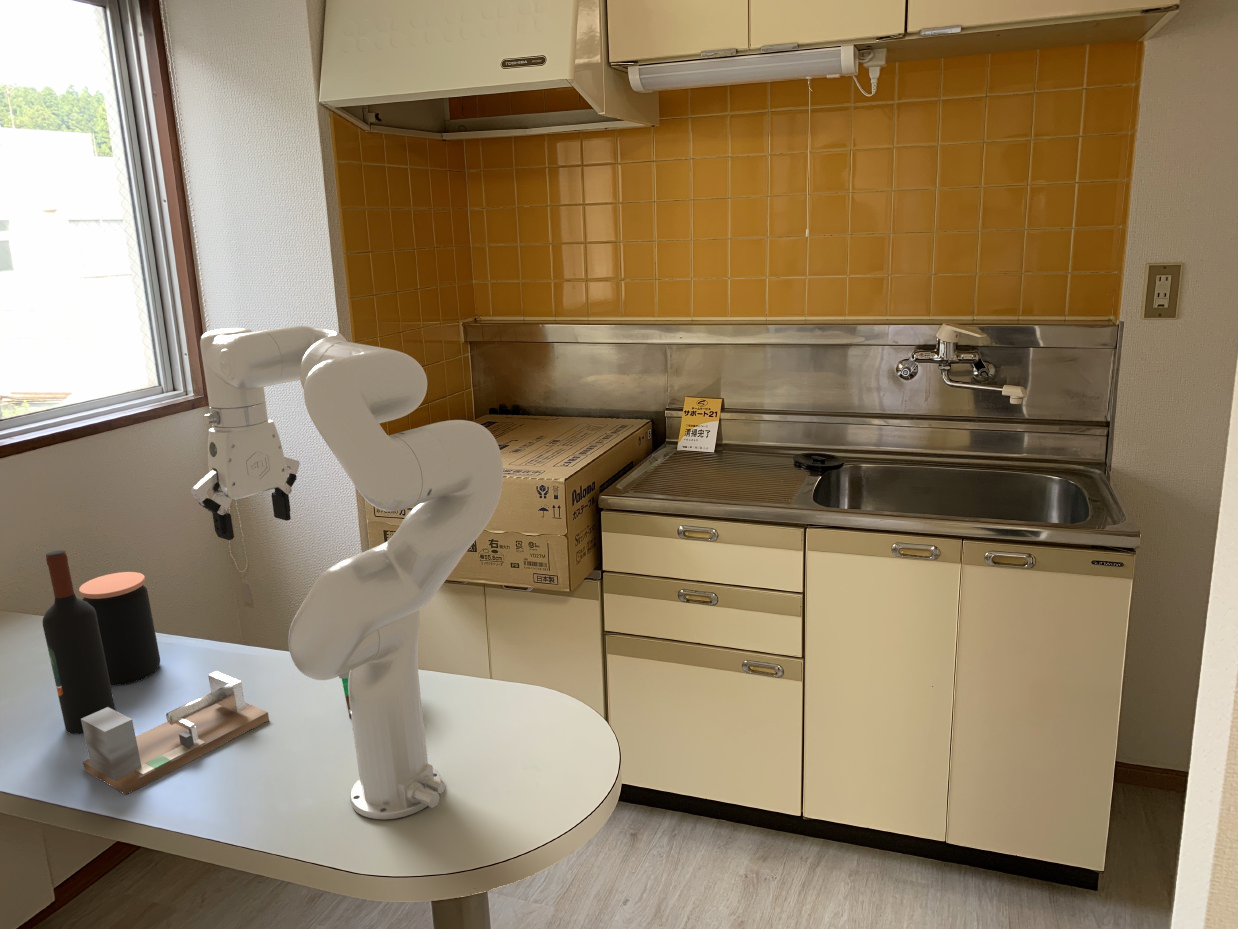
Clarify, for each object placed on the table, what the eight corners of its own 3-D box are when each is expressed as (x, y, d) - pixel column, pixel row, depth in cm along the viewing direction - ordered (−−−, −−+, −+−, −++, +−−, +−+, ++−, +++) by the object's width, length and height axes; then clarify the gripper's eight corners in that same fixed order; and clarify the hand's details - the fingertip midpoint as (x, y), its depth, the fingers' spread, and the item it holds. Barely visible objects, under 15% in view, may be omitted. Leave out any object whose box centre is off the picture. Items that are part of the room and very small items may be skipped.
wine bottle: (89, 737, 152) (52, 563, 145) (54, 730, 155) (16, 559, 147) (127, 713, 159) (93, 546, 152) (93, 708, 162) (58, 543, 154)
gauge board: (269, 720, 155) (260, 668, 153) (125, 795, 136) (113, 736, 134) (226, 701, 162) (218, 651, 159) (84, 770, 143) (72, 714, 141)
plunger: (251, 712, 153) (246, 683, 152) (190, 743, 145) (184, 712, 144) (221, 699, 158) (216, 671, 157) (160, 728, 150) (154, 698, 148)
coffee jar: (104, 665, 178) (85, 576, 173) (165, 656, 181) (149, 568, 176) (91, 691, 168) (72, 598, 163) (157, 680, 171) (139, 588, 166)
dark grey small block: (194, 745, 145) (192, 734, 144) (188, 748, 144) (186, 737, 144) (186, 741, 146) (184, 731, 146) (180, 744, 145) (178, 734, 145)
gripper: (199, 431, 126) (217, 551, 131) (306, 406, 140) (319, 516, 144) (167, 425, 130) (186, 541, 135) (274, 401, 144) (288, 508, 148)
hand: (255, 528), depth 140 cm, fingers open, 9 cm apart
